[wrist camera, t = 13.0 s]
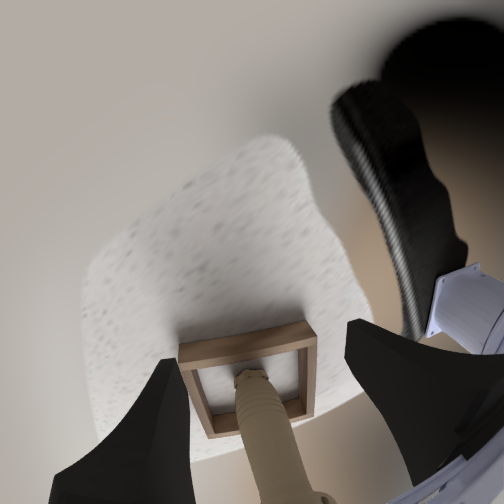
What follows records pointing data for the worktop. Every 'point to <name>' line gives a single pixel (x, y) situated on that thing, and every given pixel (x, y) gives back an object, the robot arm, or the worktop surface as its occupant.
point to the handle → (271, 443)
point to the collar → (243, 350)
